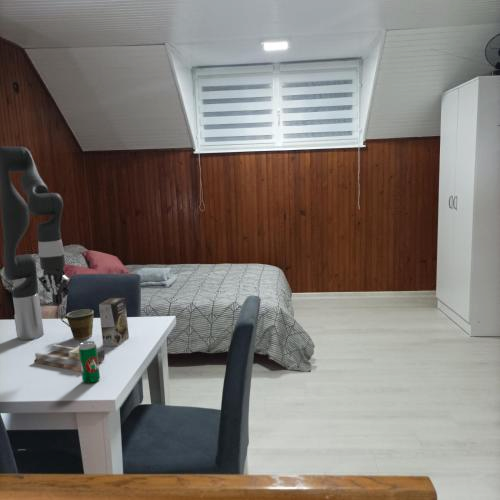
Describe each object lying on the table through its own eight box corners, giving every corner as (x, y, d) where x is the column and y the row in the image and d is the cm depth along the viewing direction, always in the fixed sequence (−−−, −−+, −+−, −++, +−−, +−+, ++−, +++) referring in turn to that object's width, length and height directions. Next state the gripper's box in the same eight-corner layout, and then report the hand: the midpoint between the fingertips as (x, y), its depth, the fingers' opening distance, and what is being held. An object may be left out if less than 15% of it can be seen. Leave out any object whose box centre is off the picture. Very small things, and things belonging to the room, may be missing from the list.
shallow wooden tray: (34, 362, 154) (32, 351, 153) (57, 351, 163) (56, 341, 162) (84, 372, 144) (82, 360, 143) (106, 360, 153) (105, 348, 152)
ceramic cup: (100, 332, 181) (97, 308, 179) (89, 341, 171) (86, 316, 170) (69, 333, 182) (66, 309, 181) (57, 342, 173) (53, 317, 171)
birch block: (70, 363, 149) (68, 351, 148) (83, 356, 154) (82, 345, 154) (83, 365, 146) (82, 353, 146) (96, 358, 152) (95, 347, 151)
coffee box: (118, 346, 165) (114, 304, 162) (102, 346, 166) (97, 303, 164) (129, 337, 174) (125, 297, 171) (114, 337, 175) (110, 297, 172)
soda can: (85, 377, 140) (80, 341, 138) (101, 376, 140) (97, 339, 138) (80, 385, 135) (76, 347, 133) (97, 383, 135) (93, 345, 133)
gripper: (27, 255, 148) (34, 306, 151) (56, 256, 142) (63, 309, 145) (46, 251, 154) (52, 300, 157) (75, 252, 149) (80, 303, 152)
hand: (57, 304), depth 151 cm, fingers closed
